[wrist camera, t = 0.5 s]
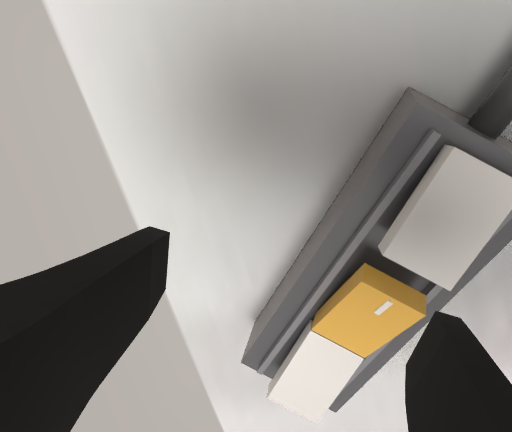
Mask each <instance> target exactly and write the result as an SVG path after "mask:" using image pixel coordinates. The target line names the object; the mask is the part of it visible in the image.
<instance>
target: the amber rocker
mask: <svg viewBox="0 0 512 432" xmlns="http://www.w3.org/2000/svg"><path fill="white" fill-rule="evenodd" d="M425 316H426V295H424V294H423V293H421V292H419V291H417V290H415V289H413V288H411V287H409V286H407V285H406V284H404V283H402V282H400V281H398V280H396V279H394V278H392V277H391V276H389V275H387V274H385V273H383V272H381V271H379V270H377V269H375V268H374V267H372V266H370V265H368V264H366V263H364V264H363V265H362V266H361V267H360V268H359V269H358V270H357V271H356V272H355V273H354V274H353V275H352V276H351V277H350V278H349V279H348V280H347V281H346V282H345V283H344V284H343V285H342V286H341V288H340V289H339V290H338V291H337V292H336V293H335V294H334V295H333V296H332V297H331V298H330V299H329V300H328V301H327V302H326V303H325V304H324V305H323V306H322V307H321V308H320V309H319V310H318V311H317V312H316V314H315V318H314V321H313V325H312V329H311V330H312V331H314V332H316V333H318V334H320V335H322V336H324V337H326V338H328V339H330V340H331V341H333V342H335V343H337V344H339V345H341V346H343V347H345V348H347V349H348V350H350V351H352V352H354V353H356V354H358V355H360V356H362V357H364V358H366V357H367V356H369V355H370V354H371V353H373V352H374V351H376V350H377V349H379V348H380V347H382V346H383V345H384V344H386V343H387V342H389V341H390V340H392V339H393V338H395V337H396V336H397V335H399V334H400V333H402V332H403V331H405V330H406V329H407V328H409V327H410V326H412V325H413V324H415V323H416V322H418V321H419V320H420V319H422V318H423V317H425Z"/></svg>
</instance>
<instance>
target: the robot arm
mask: <svg viewBox="0 0 512 432" xmlns="http://www.w3.org/2000/svg"><path fill="white" fill-rule="evenodd" d="M169 237H170V232H167V231H164V230H160V229H157V228H153V227H150V226H149V227H147V228H144V229H142V230H139V231H137V232H135V233H132V234H130V235H128V236H126V237H124V238H121V239H119V240H117V241H115V242H113V243H110V244H108V245H106V246H103V247H101V248H99V249H97V250H94V251H92V252H90V253H87V254H85V255H83V256H80V257H78V258H75V259H72V260H70V261H67V262H65V263H62V264H60V265H57V266H55V267H52V268H49V269H47V270H44V271H41V272H39V273H36V274H33V275H30V276H27V277H24V278H21V279H17V280H14V281H11V282H8V283H4V284H1V285H0V432H70V431H71V429H72V428H73V426H74V424H75V423H76V421H77V419H78V418H79V416H80V415H81V413H82V411H83V410H84V408H85V406H86V405H87V403H88V402H89V400H90V398H91V397H92V396H93V394H94V393H95V391H96V390H97V388H98V387H99V385H100V384H101V383H102V381H103V380H104V379H105V377H106V376H107V374H108V373H109V372H110V371H111V369H112V368H113V367H114V365H115V364H116V363H117V361H118V360H119V359H120V357H121V356H122V355H123V353H124V352H125V351H126V349H127V348H128V347H129V345H130V344H131V343H132V341H133V340H134V339H135V337H136V336H137V334H138V333H139V332H140V331H141V329H142V328H143V326H144V325H145V324H146V322H147V321H148V320H149V318H150V316H151V314H152V313H153V311H154V309H155V307H156V306H157V304H158V302H159V300H160V298H161V297H162V295H163V293H164V291H165V289H166V277H167V264H168V250H169ZM405 405H406V414H407V423H408V431H409V432H512V384H511V383H510V382H509V380H508V379H507V378H506V376H505V375H504V374H503V373H502V371H501V370H500V369H499V367H498V366H497V365H496V363H495V362H494V361H493V359H492V358H491V357H490V355H489V354H488V353H487V351H486V350H485V349H484V348H483V346H482V345H481V344H480V342H479V341H478V340H477V338H476V337H475V336H474V334H473V333H472V332H471V330H470V329H469V328H468V327H467V325H466V324H465V323H464V322H463V321H462V319H461V318H458V317H455V316H452V315H448V314H445V313H441V312H438V311H435V313H434V314H433V316H432V318H431V320H430V322H429V324H428V325H427V327H426V329H425V331H424V333H423V335H422V336H421V338H420V340H419V342H418V344H417V346H416V347H415V349H414V351H413V353H412V355H411V357H410V358H409V360H408V362H407V364H406V379H405Z"/></svg>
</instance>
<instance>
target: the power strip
mask: <svg viewBox="0 0 512 432" xmlns="http://www.w3.org/2000/svg"><path fill="white" fill-rule="evenodd" d="M511 121H512V66H511V67H510V68H509V70H508V71H507V72H506V74H505V75H504V76H503V77H502V79H501V80H500V81H499V83H498V84H497V85H496V86H495V88H494V89H493V90H492V92H491V93H490V94H489V96H488V97H487V98H486V99H485V101H484V102H483V103H482V105H481V106H480V107H479V108H478V110H477V111H476V112H475V114H474V115H473V116H472V117H471V119H470V120H469V119H468V118H466V117H464V116H462V115H460V114H458V113H456V112H454V111H453V110H451V109H449V108H447V107H445V106H443V105H441V104H439V103H438V102H436V101H434V100H432V99H430V98H428V97H426V96H424V95H423V94H421V93H419V92H417V91H415V90H413V89H411V88H409V87H408V89H407V90H406V92H405V93H404V95H403V96H402V98H401V99H400V101H399V102H398V104H397V106H396V107H395V109H394V110H393V112H392V113H391V115H390V116H389V118H388V119H387V121H386V122H385V124H384V125H383V127H382V129H381V130H380V132H379V133H378V135H377V136H376V138H375V139H374V141H373V142H372V144H371V145H370V147H369V148H368V150H367V152H366V153H365V155H364V156H363V158H362V159H361V161H360V162H359V164H358V165H357V167H356V168H355V170H354V171H353V173H352V174H351V176H350V178H349V179H348V181H347V182H346V184H345V185H344V187H343V188H342V190H341V191H340V193H339V194H338V196H337V197H336V199H335V201H334V202H333V204H332V205H331V207H330V208H329V210H328V211H327V213H326V214H325V216H324V217H323V219H322V220H321V222H320V224H319V225H318V227H317V228H316V230H315V231H314V233H313V234H312V236H311V237H310V239H309V240H308V242H307V243H306V245H305V246H304V248H303V250H302V251H301V253H300V254H299V256H298V257H297V259H296V260H295V262H294V263H293V265H292V266H291V268H290V269H289V271H288V273H287V274H286V276H285V277H284V279H283V280H282V282H281V283H280V285H279V286H278V288H277V289H276V291H275V292H274V294H273V296H272V297H271V299H270V300H269V302H268V303H267V305H266V306H265V308H264V309H263V311H262V312H261V314H260V315H259V317H258V318H257V320H256V322H255V323H254V326H253V329H252V332H251V335H250V338H249V341H248V343H247V346H246V349H245V352H244V355H243V358H242V361H241V363H243V364H245V365H247V366H249V367H250V368H252V369H254V370H256V371H257V373H259V374H261V375H262V374H264V375H266V376H268V377H269V378H271V379H273V378H274V376H275V374H276V373H277V371H278V370H279V368H280V367H281V365H282V363H283V362H284V360H285V359H286V357H287V356H288V354H289V353H290V351H291V349H292V348H293V346H294V345H295V343H296V342H297V340H298V338H299V337H300V335H301V334H302V332H303V331H304V329H305V327H306V326H307V324H308V323H309V321H310V320H313V321H314V318H315V314H316V312H317V311H318V310H319V309H320V308H321V307H322V306H323V305H324V304H325V303H326V302H327V301H328V300H329V299H330V298H331V297H332V296H333V295H334V294H335V293H336V292H337V291H338V290H339V289H340V288H341V286H342V285H343V284H344V283H345V282H346V281H347V280H348V279H349V278H350V277H351V276H352V275H353V274H354V273H355V272H356V271H357V270H358V269H359V268H360V267H361V266H362V265H363V264H364V263H366V264H368V265H370V266H372V267H374V268H375V269H377V270H379V271H381V272H383V273H385V274H387V275H389V276H391V277H392V278H394V279H396V280H398V281H400V282H402V283H404V284H406V285H407V286H409V287H411V288H413V289H415V290H417V291H419V292H421V293H423V294H424V295H426V316H425V317H423V318H422V319H420V320H419V321H418V322H416V323H415V324H413V325H412V326H410V327H409V328H407V329H406V330H405V331H403V332H402V333H400V334H399V335H397V336H396V337H395V338H393V339H392V340H390V341H389V342H387V343H386V344H384V345H383V346H382V347H380V348H379V349H377V350H376V351H374V352H373V353H371V354H370V355H369V356H367V357H366V358H364V360H363V361H362V362H361V364H360V365H359V367H358V368H357V369H356V371H355V372H354V374H353V375H352V376H351V378H350V379H349V381H348V382H347V383H346V385H345V386H344V388H343V389H342V390H341V392H340V393H339V395H338V396H337V397H336V399H335V400H334V402H333V403H332V404H331V406H330V407H329V409H330V410H332V411H334V412H337V411H338V410H339V409H340V408H341V407H342V406H343V405H344V404H345V403H346V402H347V401H348V400H349V399H350V398H351V397H352V396H353V395H354V394H355V393H356V392H357V391H358V390H359V389H360V388H361V387H362V386H363V385H364V384H365V383H366V382H367V381H368V380H369V379H370V378H371V377H372V376H373V375H375V374H376V373H377V372H378V371H379V370H380V369H381V368H382V367H383V366H384V365H385V364H386V363H387V362H388V361H389V360H390V359H391V358H392V357H393V356H394V355H395V354H396V353H397V352H398V351H399V350H400V349H401V348H402V347H403V346H404V345H405V344H406V343H407V342H408V341H409V340H410V339H411V338H412V337H413V336H414V335H415V334H416V333H417V332H418V331H419V330H420V329H421V328H422V327H423V326H424V325H425V324H426V323H427V322H428V321H430V320H431V318H432V316H433V314H434V313H435V311H438V312H439V311H440V310H441V309H442V308H443V307H444V306H445V305H446V304H447V303H448V302H449V301H450V300H451V299H452V298H453V297H454V296H455V295H456V294H457V293H458V292H459V291H460V290H461V289H462V288H463V287H464V286H465V285H466V284H467V283H468V282H469V281H470V280H471V279H472V278H473V277H474V276H475V275H476V274H477V273H478V272H479V271H480V270H481V269H482V268H483V267H485V266H486V265H487V264H488V263H489V262H490V261H491V260H492V259H493V258H494V257H495V256H496V255H497V254H498V253H499V252H500V251H501V250H502V249H503V248H504V247H505V246H506V245H507V244H508V243H509V242H510V241H511V240H512V210H511V211H510V213H509V214H508V215H507V217H506V218H505V219H504V221H503V222H502V223H501V225H500V226H499V227H498V229H497V230H496V231H495V233H494V234H493V235H492V237H491V238H490V239H489V241H488V242H487V243H486V245H485V246H484V247H483V249H482V250H481V251H480V253H479V254H478V255H477V257H476V258H475V259H474V261H473V262H472V263H471V265H470V266H469V267H468V269H467V270H466V271H465V273H464V274H463V275H462V277H461V278H460V279H459V280H458V282H457V283H456V284H455V286H454V287H453V288H452V290H451V291H449V290H447V289H445V288H443V287H441V286H439V285H437V284H435V283H434V282H432V281H430V280H428V279H426V278H424V277H422V276H420V275H418V274H417V273H415V272H413V271H411V270H409V269H407V268H405V267H403V266H402V265H400V264H398V263H396V262H394V261H392V260H390V259H388V258H386V257H385V256H383V255H382V254H381V252H380V250H379V248H378V245H379V244H380V242H381V241H382V239H383V238H384V236H385V235H386V233H387V231H388V230H389V228H390V227H391V225H392V224H393V222H394V221H395V219H396V218H397V216H398V215H399V213H400V212H401V210H402V209H403V207H404V206H405V204H406V203H407V201H408V199H409V198H410V196H411V195H412V193H413V192H414V190H415V189H416V187H417V186H418V184H419V183H420V181H421V180H422V178H423V177H424V175H425V174H426V172H427V171H428V169H429V167H430V166H431V164H432V163H433V161H434V160H435V158H436V157H437V155H438V154H439V152H440V151H441V149H442V148H443V146H444V145H449V146H453V147H456V148H458V149H460V150H462V151H463V152H465V153H467V154H469V155H471V156H473V157H475V158H477V159H478V160H480V161H482V162H484V163H486V164H488V165H490V166H492V167H493V168H495V169H497V170H499V171H501V172H503V173H505V174H507V175H508V176H510V177H512V142H511V141H509V140H507V139H505V138H503V137H501V136H499V135H500V134H501V133H502V132H503V130H504V129H505V128H506V127H507V126H508V125H509V123H510V122H511Z"/></svg>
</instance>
